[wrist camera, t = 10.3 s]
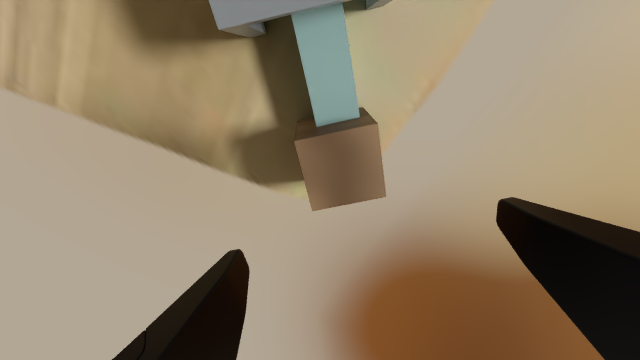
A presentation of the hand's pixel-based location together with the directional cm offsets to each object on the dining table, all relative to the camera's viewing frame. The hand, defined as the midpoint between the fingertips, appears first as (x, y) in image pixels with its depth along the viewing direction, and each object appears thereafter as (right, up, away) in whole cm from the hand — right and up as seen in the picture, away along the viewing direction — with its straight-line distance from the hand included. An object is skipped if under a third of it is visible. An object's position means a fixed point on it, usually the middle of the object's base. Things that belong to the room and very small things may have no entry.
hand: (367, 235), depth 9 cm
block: (-1, +4, +10) cm, 11 cm away
